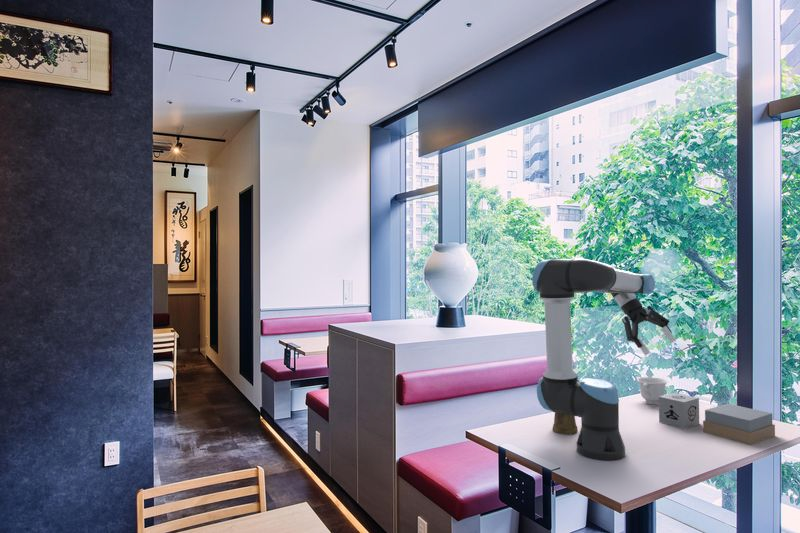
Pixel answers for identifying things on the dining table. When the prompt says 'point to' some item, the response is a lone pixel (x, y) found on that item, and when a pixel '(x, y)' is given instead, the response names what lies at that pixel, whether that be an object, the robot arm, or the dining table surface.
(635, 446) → the dining table surface
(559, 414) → the wooden mug
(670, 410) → the icon cube
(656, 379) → the teacup
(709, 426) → the tower base
